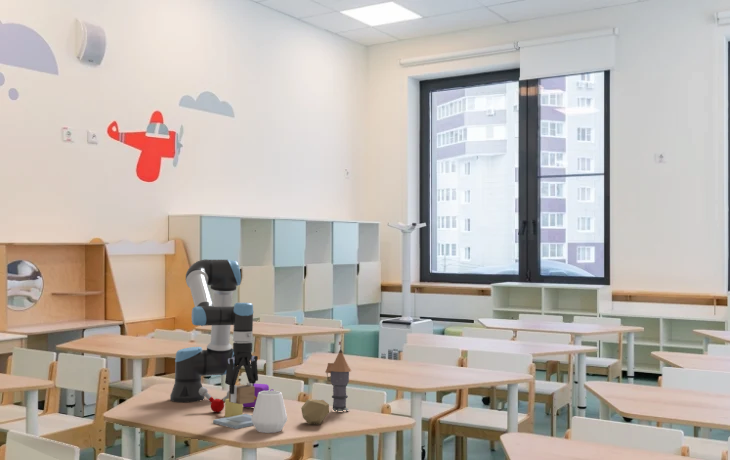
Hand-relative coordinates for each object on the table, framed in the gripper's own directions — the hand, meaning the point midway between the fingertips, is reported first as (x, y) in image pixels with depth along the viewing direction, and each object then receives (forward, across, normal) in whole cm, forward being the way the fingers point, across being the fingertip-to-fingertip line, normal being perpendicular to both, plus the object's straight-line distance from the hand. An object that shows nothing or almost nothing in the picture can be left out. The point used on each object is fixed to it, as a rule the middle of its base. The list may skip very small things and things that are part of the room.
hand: (241, 400), depth 276 cm
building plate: (+8, 0, 0) cm, 8 cm away
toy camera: (+9, +25, +19) cm, 33 cm away
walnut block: (0, 0, 0) cm, 0 cm away
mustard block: (+8, +5, +11) cm, 15 cm away
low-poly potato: (+9, +21, -21) cm, 31 cm away
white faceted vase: (+9, 0, -17) cm, 19 cm away
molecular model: (+9, +5, +22) cm, 24 cm away
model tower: (+9, +44, -11) cm, 46 cm away
